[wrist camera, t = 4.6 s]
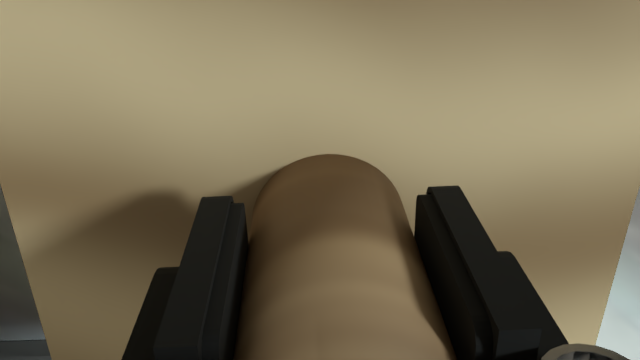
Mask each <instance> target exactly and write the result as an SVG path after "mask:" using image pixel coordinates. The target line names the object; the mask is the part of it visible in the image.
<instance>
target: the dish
mask: <svg viewBox="0 0 640 360" xmlns="http://www.w3.org/2000/svg"><path fill="white" fill-rule="evenodd" d="M0 360H52V359H51V355H50V352H49V348H48V345H47V342H46V340H34V341H3V342H0Z"/></svg>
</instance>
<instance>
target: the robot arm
mask: <svg viewBox="0 0 640 360" xmlns="http://www.w3.org/2000/svg"><path fill="white" fill-rule="evenodd" d="M414 238H415V241H416V244H417V246H418V249H419V252H420V255H421V258H422V261H423V263H424V266H425V269H426V272H427V275H428V278H429V280H430V283H431V286H432V289H433V292H434V295H435V297H436V300H437V303H438V306H439V309H440V312H441V314H442V317H443V320H444V323H445V326H446V329H447V331H448V334H449V337H450V340H451V343H452V346H453V348H454V351H455V354H456V357H457V360H629V359H627V358H626V357H624V356H622V355H620V354H618V353H616V352H614V351H611V350H608V349H605V348H602V347H599V346H595V345H587V344H579V343H577V344H569V343H568V341H567V340H566V338H565V336H564V335H563V333H562V332H561V330H560V328H559V327H558V325H557V324H556V322H555V320H554V319H553V317H552V315H551V314H550V312H549V311H548V309H547V307H546V306H545V304H544V303H543V301H542V299H541V298H540V296H539V295H538V293H537V291H536V290H535V288H534V287H533V285H532V283H531V282H530V280H529V279H528V277H527V275H526V274H525V272H524V271H523V269H522V267H521V266H520V264H519V262H518V261H517V259H516V258H515V256H514V255H513V254H512V253H511V252H509V251H497V250H496V248H495V246H494V245H493V243H492V241H491V239H490V238H489V236H488V234H487V233H486V231H485V229H484V227H483V226H482V224H481V222H480V221H479V219H478V217H477V215H476V214H475V212H474V210H473V209H472V207H471V205H470V203H469V202H468V200H467V198H466V196H465V195H464V193H463V191H462V190H461V188H460V187H459V186H458V185H456V186H434V187H428V188H427V192H426V194H423V195H417V198H416V212H415V231H414ZM248 245H249V243H248V233H247V224H246V214H245V206H244V203H234V200H233V197H232V196H212V197H202V198H201V200H200V203H199V206H198V210H197V213H196V216H195V219H194V222H193V225H192V228H191V231H190V234H189V238H188V241H187V244H186V247H185V250H184V253H183V256H182V259H181V262H180V266H179V267H160V268H158V269H157V270H156V271H155V273H154V276H153V278H152V281H151V283H150V286H149V289H148V291H147V294H146V296H145V299H144V302H143V304H142V307H141V309H140V312H139V315H138V317H137V320H136V323H135V325H134V328H133V330H132V333H131V336H130V338H129V341H128V343H127V346H126V349H125V351H124V354H123V356H122V359H121V360H233V356H234V349H235V342H236V334H237V327H238V319H239V312H240V305H241V297H242V290H243V282H244V275H245V267H246V260H247V253H248Z"/></svg>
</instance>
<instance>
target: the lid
mask: <svg viewBox="0 0 640 360" xmlns="http://www.w3.org/2000/svg"><path fill="white" fill-rule="evenodd" d="M0 185H1V188H2V191H3V195H4V198H5V202H6V205H7V208H8V212H9V215H10V219H11V222H12V225H13V229H14V232H15V236H16V239H17V243H18V246H19V249H20V253H21V256H22V260H23V263H24V266H25V270H26V273H27V277H28V280H29V284H30V287H31V290H32V294H33V297H34V301H35V304H36V307H37V311H38V314H39V318H40V321H41V324H42V328H43V331H44V335H45V338H46V342H47V345H48V348H49V352H50V355H51V359H52V360H121V359H122V356H123V354H124V351H125V349H126V346H127V343H128V341H129V338H130V336H131V333H132V330H133V328H134V325H135V323H136V320H137V317H138V315H139V312H140V309H141V307H142V304H143V302H144V299H145V296H146V294H147V291H148V289H149V286H150V283H151V281H152V278H153V276H154V273H155V271H156V270H157V269H158V268H160V267H179V266H180V262H181V259H182V256H183V253H184V250H185V247H186V244H187V241H188V238H189V234H190V231H191V228H192V225H193V222H194V219H195V216H196V213H197V210H198V206H199V203H200V200H201V198H202V197H212V196H232V197H233V200H234V203H244V206H245V214H246V224H247V233H248V243H249V245H248V253H247V260H246V267H245V275H244V282H243V290H242V297H241V305H240V312H239V319H238V327H237V334H236V342H235V349H234V356H233V360H457V357H456V354H455V351H454V348H453V346H452V343H451V340H450V337H449V334H448V331H447V329H446V326H445V323H444V320H443V317H442V314H441V312H440V309H439V306H438V303H437V300H436V297H435V295H434V292H433V289H432V286H431V283H430V280H429V278H428V275H427V272H426V269H425V266H424V263H423V261H422V258H421V255H420V252H419V249H418V246H417V244H416V241H415V238H414V231H415V212H416V198H417V195H423V194H426V192H427V188H428V187H434V186H456V185H458V186H459V187H460V188H461V190H462V191H463V193H464V195H465V196H466V198H467V200H468V202H469V203H470V205H471V207H472V209H473V210H474V212H475V214H476V215H477V217H478V219H479V221H480V222H481V224H482V226H483V227H484V229H485V231H486V233H487V234H488V236H489V238H490V239H491V241H492V243H493V245H494V246H495V248H496V250H497V251H509V252H511V253H512V254H513V255H514V256H515V258H516V259H517V261H518V262H519V264H520V266H521V267H522V269H523V271H524V272H525V274H526V275H527V277H528V279H529V280H530V282H531V283H532V285H533V287H534V288H535V290H536V291H537V293H538V295H539V296H540V298H541V299H542V301H543V303H544V304H545V306H546V307H547V309H548V311H549V312H550V314H551V315H552V317H553V319H554V320H555V322H556V324H557V325H558V327H559V328H560V330H561V332H562V333H563V335H564V336H565V338H566V340H567V341H568V343H569V344H577V343H579V344H587V345H595V344H596V340H597V337H598V333H599V329H600V326H601V322H602V319H603V315H604V311H605V308H606V304H607V301H608V297H609V294H610V290H611V286H612V283H613V279H614V276H615V272H616V268H617V265H618V261H619V258H620V254H621V251H622V247H623V243H624V240H625V236H626V233H627V229H628V225H629V222H630V218H631V215H632V211H633V208H634V204H635V200H636V197H637V193H638V190H639V186H640V0H0Z"/></svg>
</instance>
